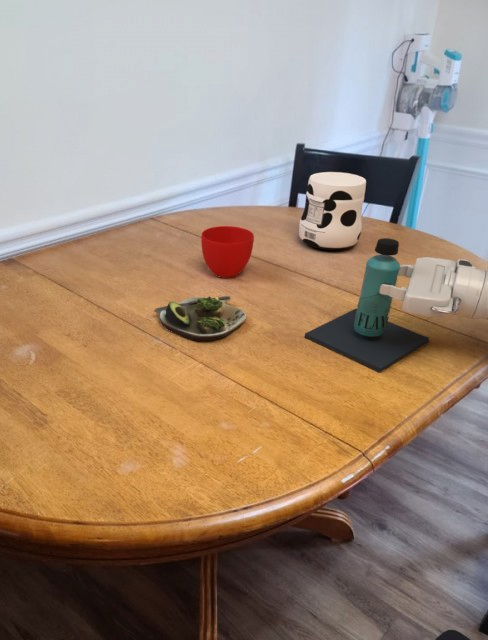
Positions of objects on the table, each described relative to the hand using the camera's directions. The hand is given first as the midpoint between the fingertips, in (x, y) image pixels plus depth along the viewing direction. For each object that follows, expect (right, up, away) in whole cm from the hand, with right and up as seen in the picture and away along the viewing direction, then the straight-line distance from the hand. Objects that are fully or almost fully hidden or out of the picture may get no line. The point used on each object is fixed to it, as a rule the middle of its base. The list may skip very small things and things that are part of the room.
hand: (384, 278), depth 109 cm
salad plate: (-35, -7, +13) cm, 38 cm away
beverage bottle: (-1, -10, +7) cm, 13 cm away
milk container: (+2, +21, +54) cm, 58 cm away
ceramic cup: (-28, +10, +37) cm, 48 cm away
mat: (-1, -11, +8) cm, 14 cm away
